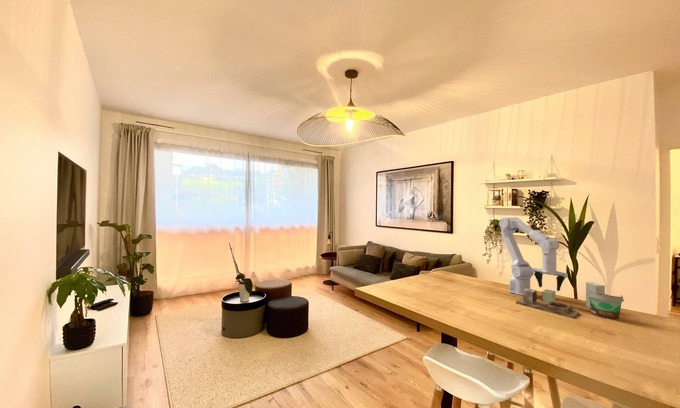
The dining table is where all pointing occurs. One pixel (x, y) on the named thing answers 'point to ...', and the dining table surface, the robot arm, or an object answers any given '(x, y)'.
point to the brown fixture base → (553, 307)
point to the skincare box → (593, 290)
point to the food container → (605, 305)
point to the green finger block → (548, 296)
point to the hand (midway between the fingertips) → (549, 288)
